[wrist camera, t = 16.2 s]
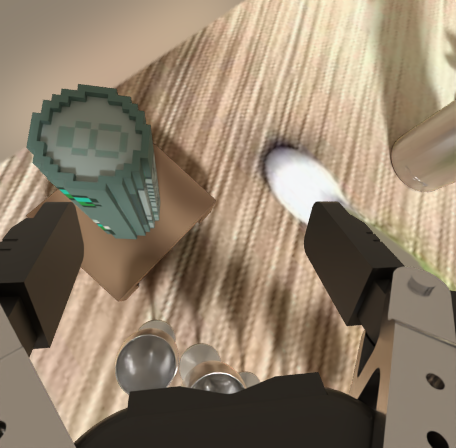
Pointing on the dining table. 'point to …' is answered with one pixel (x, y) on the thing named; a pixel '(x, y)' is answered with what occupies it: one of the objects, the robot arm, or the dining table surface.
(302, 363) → the dining table surface
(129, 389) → the goblet set
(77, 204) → the can
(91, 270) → the walnut shelf
